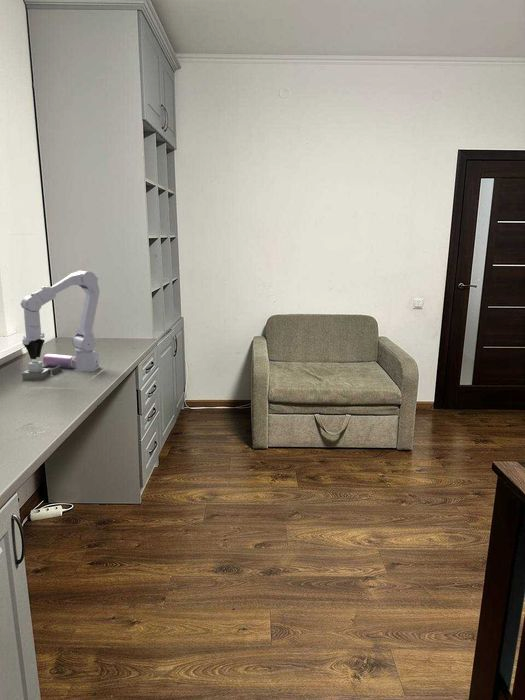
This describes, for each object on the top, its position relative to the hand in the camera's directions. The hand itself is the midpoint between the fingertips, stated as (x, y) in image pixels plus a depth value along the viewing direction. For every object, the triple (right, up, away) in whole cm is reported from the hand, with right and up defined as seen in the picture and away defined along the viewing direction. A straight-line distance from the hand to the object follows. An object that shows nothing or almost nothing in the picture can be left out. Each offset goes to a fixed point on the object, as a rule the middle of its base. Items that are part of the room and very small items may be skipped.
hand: (35, 358), depth 199 cm
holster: (+2, -7, +10) cm, 12 cm away
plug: (0, -8, +2) cm, 8 cm away
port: (0, -9, +2) cm, 9 cm away
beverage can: (-5, -1, +21) cm, 21 cm away
